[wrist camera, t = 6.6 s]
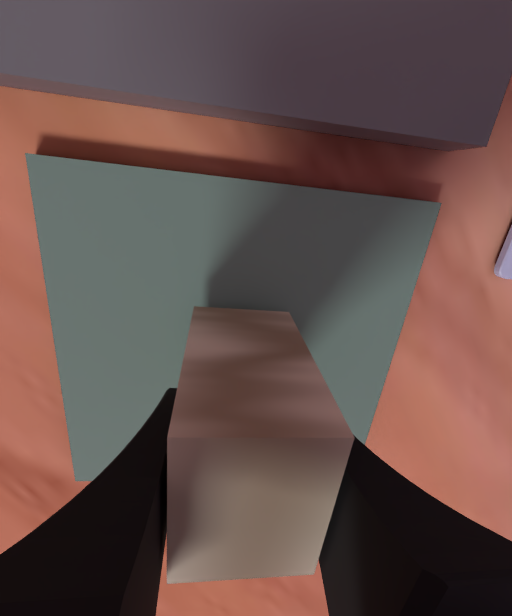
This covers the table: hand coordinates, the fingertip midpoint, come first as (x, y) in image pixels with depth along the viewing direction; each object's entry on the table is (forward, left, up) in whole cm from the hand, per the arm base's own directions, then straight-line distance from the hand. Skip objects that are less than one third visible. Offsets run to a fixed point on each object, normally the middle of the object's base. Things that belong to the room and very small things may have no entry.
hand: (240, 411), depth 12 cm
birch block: (0, 0, -3) cm, 3 cm away
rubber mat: (0, 0, -4) cm, 4 cm away
